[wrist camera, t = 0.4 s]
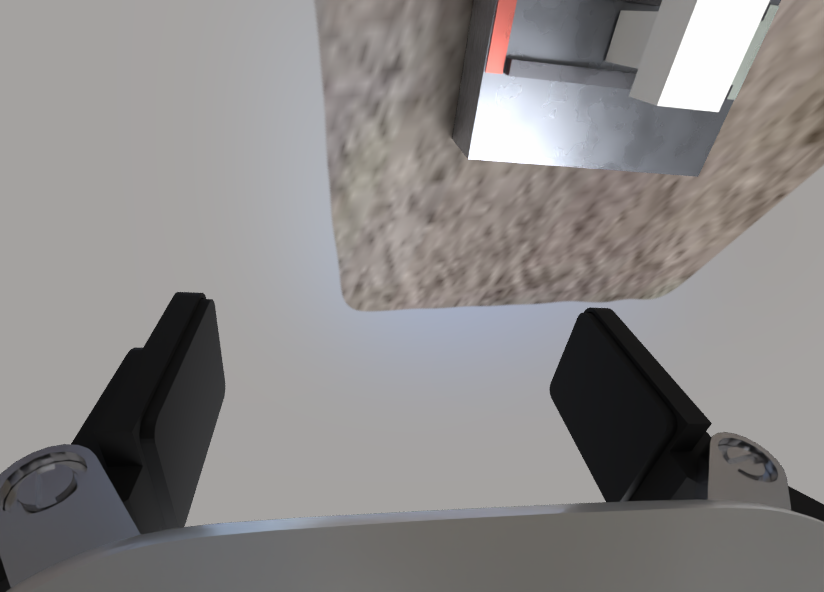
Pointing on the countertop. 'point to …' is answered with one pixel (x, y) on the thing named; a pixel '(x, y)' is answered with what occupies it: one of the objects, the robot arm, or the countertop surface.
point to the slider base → (574, 92)
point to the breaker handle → (685, 50)
